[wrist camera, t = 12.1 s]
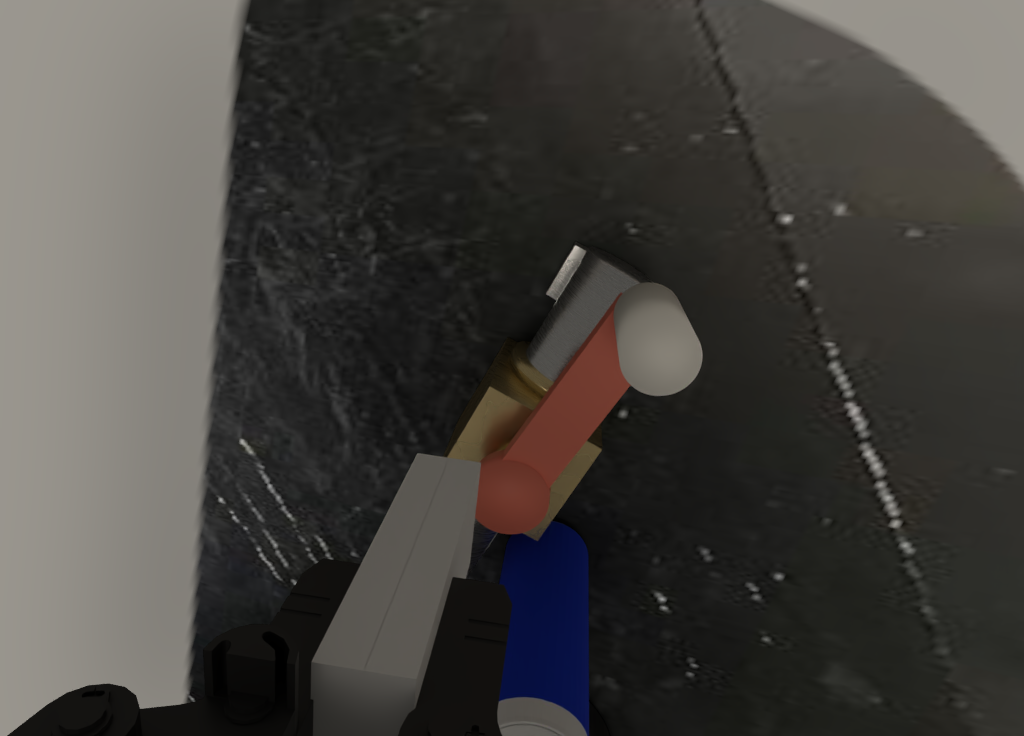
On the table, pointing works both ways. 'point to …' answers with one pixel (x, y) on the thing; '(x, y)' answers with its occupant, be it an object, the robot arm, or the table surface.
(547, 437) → the lever
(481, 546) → the valve
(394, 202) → the table surface
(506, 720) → the beverage can
